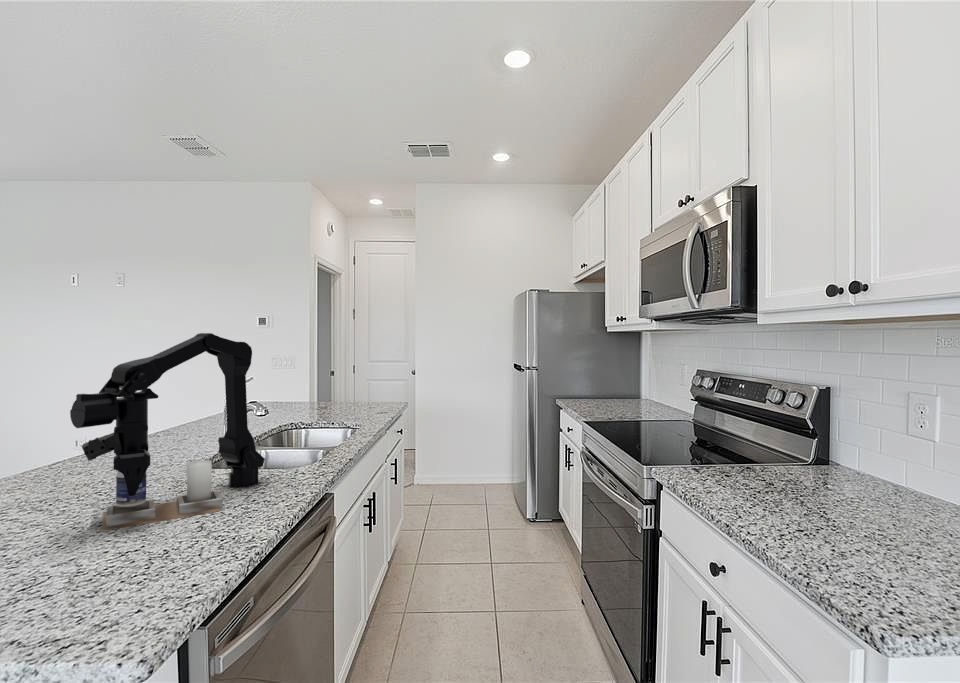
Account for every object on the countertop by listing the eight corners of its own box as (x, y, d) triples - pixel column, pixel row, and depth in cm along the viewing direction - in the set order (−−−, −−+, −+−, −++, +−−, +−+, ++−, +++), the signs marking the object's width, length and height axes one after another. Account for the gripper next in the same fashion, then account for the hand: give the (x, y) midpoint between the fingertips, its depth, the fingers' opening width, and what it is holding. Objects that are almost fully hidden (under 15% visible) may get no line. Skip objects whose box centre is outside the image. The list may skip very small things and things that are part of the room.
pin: (209, 500, 120) (210, 459, 120) (212, 506, 116) (213, 463, 116) (185, 504, 117) (186, 462, 117) (187, 510, 113) (188, 466, 113)
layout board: (215, 501, 124) (215, 487, 124) (223, 516, 114) (223, 501, 114) (103, 518, 112) (103, 503, 112) (100, 538, 101) (101, 521, 101)
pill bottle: (130, 508, 106) (131, 463, 106) (109, 506, 107) (109, 461, 107) (152, 500, 111) (152, 457, 111) (132, 498, 112) (132, 455, 112)
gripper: (88, 418, 112) (88, 487, 112) (81, 431, 97) (81, 511, 97) (147, 414, 118) (147, 479, 119) (150, 426, 103) (150, 501, 103)
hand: (132, 492), depth 109 cm, fingers closed on pill bottle, 5 cm apart
